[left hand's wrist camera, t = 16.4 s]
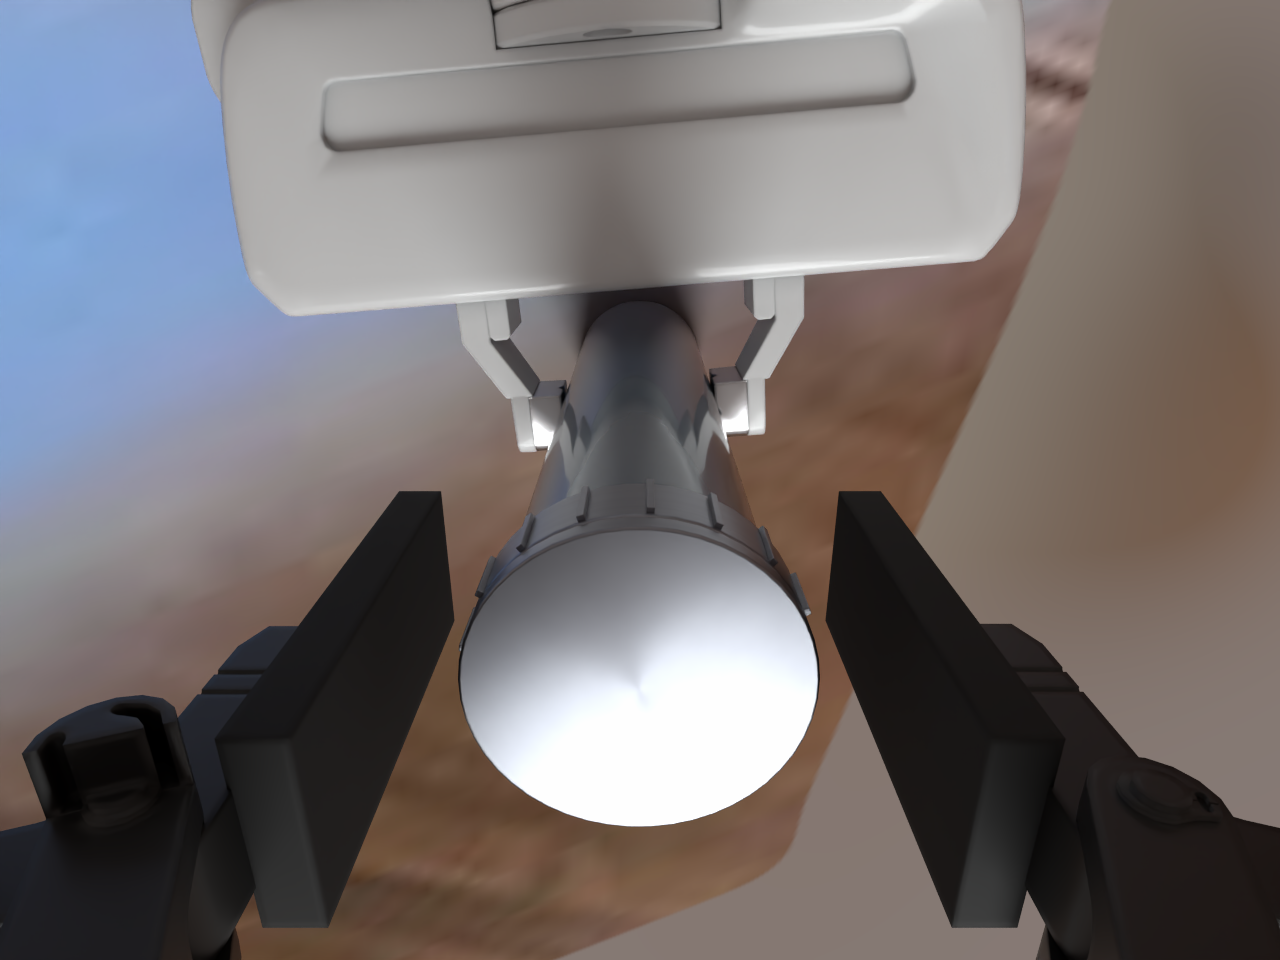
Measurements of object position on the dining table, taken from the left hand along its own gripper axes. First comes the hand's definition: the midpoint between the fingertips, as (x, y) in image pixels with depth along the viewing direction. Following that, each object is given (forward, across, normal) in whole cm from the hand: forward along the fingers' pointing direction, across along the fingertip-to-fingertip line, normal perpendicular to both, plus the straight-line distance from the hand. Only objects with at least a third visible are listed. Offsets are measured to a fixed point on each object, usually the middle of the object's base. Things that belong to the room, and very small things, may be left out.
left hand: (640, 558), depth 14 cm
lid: (-4, 0, 0) cm, 4 cm away
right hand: (+10, 0, -1) cm, 10 cm away
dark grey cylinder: (+16, 0, 0) cm, 16 cm away
